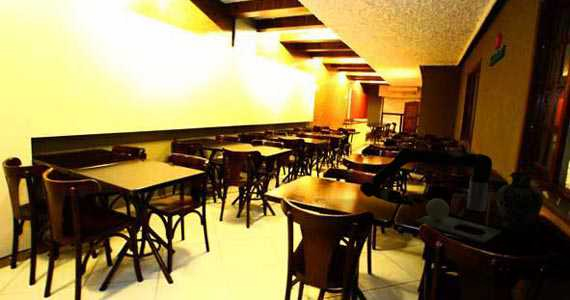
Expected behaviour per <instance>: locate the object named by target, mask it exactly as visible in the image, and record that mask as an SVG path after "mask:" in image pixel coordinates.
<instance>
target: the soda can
mask: <svg viewBox="0 0 570 300" xmlns="http://www.w3.org/2000/svg"><path fill="white" fill-rule="evenodd" d="M466 208H467V196H466V195H465V194H463V193H460V192H459V193H458V192H455V193H453V195H452V196H451V202H450V214H451V215H452V217H453V216H454V217H455V218H462V217H465V213H466Z"/></svg>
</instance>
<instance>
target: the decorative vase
mask: <svg viewBox="0 0 570 300" xmlns="http://www.w3.org/2000/svg"><path fill="white" fill-rule="evenodd" d="M509 177H511V179H512V180H511V183H510V184H505V185H502V186H501V187H499V188H498V191H497V193H498V194H503V196H502V201H499V200H495V201H496V208H497V210H498V213H499V215H500V217H501V218H502V219H503V220H504V221H505V222H502V226H503V227H504V228H505V229H508V230H511V231H512V230H513V231H516V232H528V231H529V228H528V227H527V226H531V225H535V223H536V221H537V219H538V216H539V214H540V213H541V210H542V209H543V204H544V203H543V202H544V201H543V196H542V194H541V192H540V191H538V189H536V188H534V187H532V186H531V183H530V182H531V180H533V179H534V176H532V174H531V173H528V172H522V171H517V172H516V171H513V172H511V173H510V174H509Z"/></svg>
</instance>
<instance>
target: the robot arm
mask: <svg viewBox="0 0 570 300" xmlns="http://www.w3.org/2000/svg"><path fill="white" fill-rule="evenodd" d="M409 163H422V164H427V165H430V166H431V165H432V166H439V167H457V166H459V167H460V166H461V167H468V168H473V170H472V174H471V175H470V177H469V184H468V193H467V200H466V208H467V209H468V210H470V211H473V212H479V213H480V212H481V213H482V212H485V211H487V209H488V200H489V194H487V193H488V186H489V185H488V184H489V179H490V178H491V174H492V168H493V161H492V158H491V157H490V156H489V155H486V154H484V153H461V152H455V151H450V150H439V149H438V150H437V149H436V150H417V149H412V148H410V147H408V146H406V147H403V148H400V149H399V150H398V151H397V152H396V156H395V158H393V160H392V161H390V162H389V163H388V164H387V165H386V166H384V167H382V169H380V170H378V172H377V173H375V175H373V176H372V178H371V181H372V182H368V181H367V182H366V181H365V182H362V183H361V184H360V186H359V190H360V192H361V193H362V194H363V195H364V196H365V197H366V198H371V197H375V199H379V200H383V201H384V202H387V203H390V204H391V203H392V204H395V205H402V206H403V205H407V206H411V207H413V206H414V205H415V204H414V203H416V204H422V201H423V200H422V199H420V198H417V197H416V196H415V195H410V194H402V193H401V191H399V190H395V189H392V188H391V189H390V188H386V187H381V186H382V185H383V184H384V183H385V182H386V181H388V180H389V179H390V178H391V177H392V176H393V175H394V174H395V173H396V172H397V171H399V170H400V169H401V168H403V167H404V166H406V165H407V164H409Z"/></svg>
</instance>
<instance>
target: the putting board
mask: <svg viewBox="0 0 570 300" xmlns="http://www.w3.org/2000/svg"><path fill="white" fill-rule="evenodd" d="M502 196H503V194H498V192H493V191H489V193H488V200H487V208H486V211H487V212H486V217H485V218H486V220H485V226H484V225H482V224H477V223H474V222H470V221H468V220H463V219H460V218H457V217H453V216H449V215H448V216H447V217H446V218H445V219H443V220H435V219H432V218H431V217H430V216H429V215H428V214H427V215H425V216H423V217H420V218H417V219H415V220H414V223H416V224H420V225H422V223H426V224H429V225H430V226H432V227H433V228H432V227H431V228H432V229H436V230H439V231H441V230H442V231H441V232H446V233H448V234H452V235H454V234H456V235H455V236H457V235H459V236H458V237H461V236H463V237H462V238H464V237H466V238H465V239H467V238H471V239H475V240H478V241H481V242H486V243H487V241H488V242H489V241H491V240H492V239H494V238H495V237H497V236H498V235H501V233H502V230H499V229H496V228H492V227H488V225H489V222H488V221H489V218H490V217H489V215H490V209H491V200H495V201H496V200H499V201H502ZM458 226H460V227H468V228H473V229H475V230H479V231H482V232H484V233H483V234H472V233H468V232H465V231H462V230H458V229H456V227H458Z"/></svg>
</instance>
